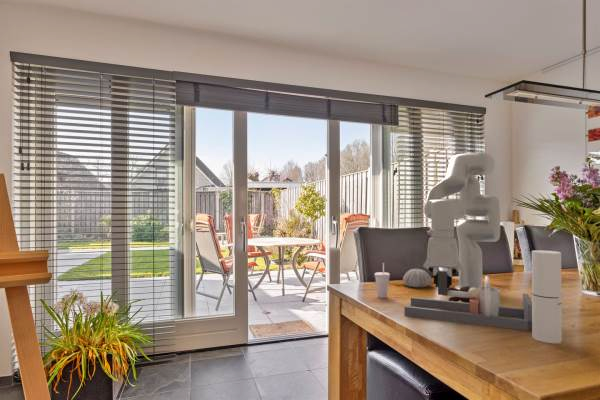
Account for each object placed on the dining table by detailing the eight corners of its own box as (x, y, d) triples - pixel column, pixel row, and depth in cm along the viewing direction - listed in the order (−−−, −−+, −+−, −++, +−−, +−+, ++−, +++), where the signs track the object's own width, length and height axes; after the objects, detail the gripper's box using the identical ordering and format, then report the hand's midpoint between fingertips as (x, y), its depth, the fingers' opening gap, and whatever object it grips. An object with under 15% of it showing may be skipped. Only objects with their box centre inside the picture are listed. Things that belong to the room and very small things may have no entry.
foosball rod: (439, 308, 137) (439, 268, 137) (479, 313, 132) (479, 271, 132) (437, 315, 129) (436, 273, 129) (480, 320, 123) (479, 276, 123)
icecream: (488, 285, 148) (447, 286, 153) (489, 284, 141) (446, 285, 147) (490, 304, 146) (448, 304, 152) (492, 304, 139) (448, 304, 145)
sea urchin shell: (398, 286, 175) (398, 269, 175) (406, 281, 187) (406, 265, 187) (428, 290, 169) (428, 272, 169) (434, 284, 180) (434, 268, 180)
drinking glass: (497, 323, 122) (499, 292, 122) (475, 318, 125) (477, 289, 125) (499, 318, 127) (501, 289, 127) (478, 314, 131) (479, 285, 131)
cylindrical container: (526, 334, 112) (525, 250, 112) (549, 334, 112) (548, 250, 112) (544, 343, 104) (543, 253, 105) (568, 342, 105) (567, 253, 105)
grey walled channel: (411, 304, 144) (411, 270, 144) (528, 317, 128) (527, 278, 128) (404, 315, 131) (404, 277, 131) (534, 331, 114) (533, 288, 114)
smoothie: (390, 299, 153) (390, 264, 153) (374, 298, 154) (374, 264, 154) (389, 295, 159) (389, 262, 159) (374, 294, 161) (374, 261, 161)
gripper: (416, 234, 133) (417, 286, 133) (467, 236, 126) (467, 291, 126) (420, 233, 140) (420, 282, 140) (468, 234, 132) (468, 287, 132)
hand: (442, 286), depth 133 cm, fingers closed on foosball rod, 3 cm apart
